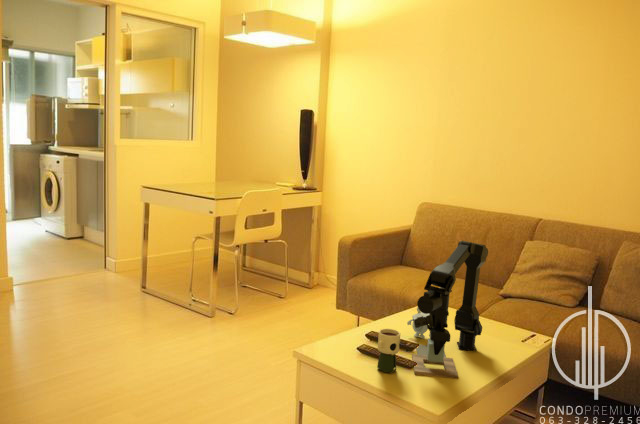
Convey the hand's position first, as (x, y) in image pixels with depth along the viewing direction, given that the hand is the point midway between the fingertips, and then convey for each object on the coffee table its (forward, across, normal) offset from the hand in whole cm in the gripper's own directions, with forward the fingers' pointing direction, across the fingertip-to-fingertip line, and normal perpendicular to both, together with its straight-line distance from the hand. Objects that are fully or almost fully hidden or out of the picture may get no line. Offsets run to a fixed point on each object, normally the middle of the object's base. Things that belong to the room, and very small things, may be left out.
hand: (435, 351), depth 182 cm
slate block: (+3, 0, 0) cm, 3 cm away
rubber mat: (+6, -13, 0) cm, 14 cm away
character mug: (+6, +6, -16) cm, 18 cm away
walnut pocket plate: (+6, 0, 0) cm, 6 cm away
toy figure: (+6, -27, -3) cm, 28 cm away
